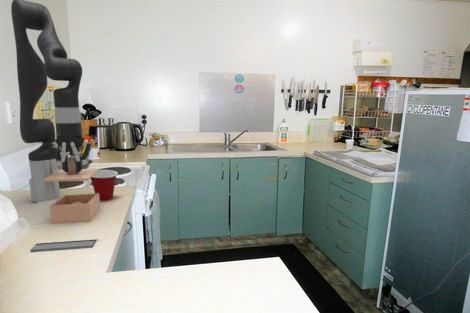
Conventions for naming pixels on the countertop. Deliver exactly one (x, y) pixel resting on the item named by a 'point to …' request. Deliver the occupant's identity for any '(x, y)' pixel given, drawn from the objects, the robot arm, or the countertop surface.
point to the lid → (72, 173)
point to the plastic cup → (104, 183)
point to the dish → (75, 208)
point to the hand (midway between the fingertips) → (73, 171)
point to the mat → (63, 245)
